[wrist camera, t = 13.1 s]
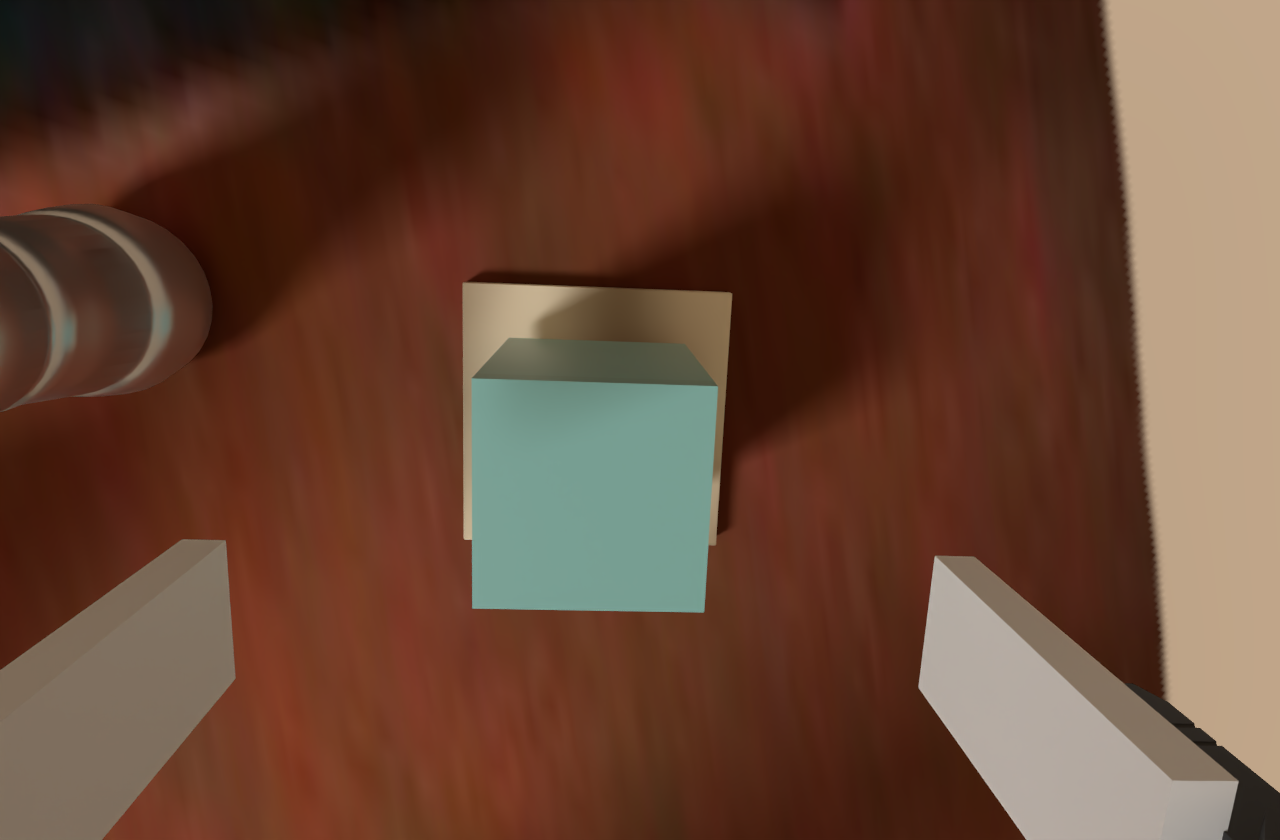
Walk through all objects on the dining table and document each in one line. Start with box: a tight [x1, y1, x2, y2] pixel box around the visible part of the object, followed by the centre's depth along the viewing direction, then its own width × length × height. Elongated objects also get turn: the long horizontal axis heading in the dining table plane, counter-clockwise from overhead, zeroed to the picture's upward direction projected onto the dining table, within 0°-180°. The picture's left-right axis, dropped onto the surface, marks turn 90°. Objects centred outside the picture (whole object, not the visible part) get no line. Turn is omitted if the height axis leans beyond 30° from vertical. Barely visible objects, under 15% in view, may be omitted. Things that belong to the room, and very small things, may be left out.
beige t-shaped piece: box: [463, 282, 732, 545], centre depth 28 cm, size 10×10×10 cm
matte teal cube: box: [472, 338, 718, 612], centre depth 26 cm, size 6×6×9 cm
